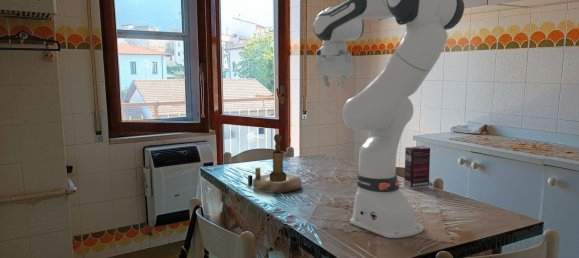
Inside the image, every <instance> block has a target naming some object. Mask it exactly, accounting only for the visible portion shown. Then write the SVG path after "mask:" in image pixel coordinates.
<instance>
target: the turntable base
mask: <svg viewBox="0 0 579 258" xmlns="http://www.w3.org/2000/svg"><path fill="white" fill-rule="evenodd" d="M253 179H254V178H253V175H252V174H248V175H247V185H248V186H250V187H252V186H253Z"/></svg>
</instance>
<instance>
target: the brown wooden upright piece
mask: <svg viewBox="0 0 579 258" xmlns="http://www.w3.org/2000/svg"><path fill="white" fill-rule="evenodd" d="M273 140H274V142H275V145H274V148H275V150H274V151H273V152H272V171H271V172H270V173H269V174H270V180H271V181H274V182H282V181H285V180H286V173H285V171H284V152H283V151H281V149H282V148H281V147H282V146H281V141H282V135H281V134H279V133H277V134H274V136H273Z"/></svg>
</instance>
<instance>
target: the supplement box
mask: <svg viewBox="0 0 579 258" xmlns="http://www.w3.org/2000/svg"><path fill="white" fill-rule="evenodd" d="M404 153H405V155H404V157H405V159H404V180H403V181H404V182H403V183H404V186H403V187H405V188H408V189H409V190H415V189H425V188H429V187H430V168H431V167H430V165H431V162H430V161H431V148H430V147H428V146H425V145H424V146H423V145H421V146H409V147H408V146H407V147H405V152H404Z"/></svg>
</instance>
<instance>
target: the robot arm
mask: <svg viewBox="0 0 579 258" xmlns="http://www.w3.org/2000/svg"><path fill="white" fill-rule="evenodd" d="M464 13H465V3H464V0H346V1H344V2H342V3H341V4H339V5H333V6H329V7H328V8H326V9H325V10H321V12H319V13H318V14H317V15H316V16H315V18H314V21H313V23H312V30H313V33H314V34H315V36H316V37H317V38H318V39H319V40H320V41H322V46H321V47H319V48H318V49H317V50H316V51H315V56H316V61H315V65H316V66H315V68H316V74H317V75H318V76H322V77H321V78H322V81H323V84H324V85H323V86H324V87H325V88H330V87H331V82H330V81H329V78H330V76H337V77H339V83H337V88H338V89H344V88H345V83H346V80H347V77H349V76H350V77H351V76H353V74H354V61H353V57H352V53H351V52H350V51H349V50H347V42H353V41H358V40H359V39H360V38H361V37H362V36H363V33H364V30H365V22H364V20H389V19H392V18H395V22H396V23H397V25H399V26H403V25H405V26H406V29H405V34H404V36H403V37H402V39H401V41H400V42H399V44H398V45H397V47H396V48H395V50H394V52H393V53H392V55H391V57H390V58H389V59H388V60H387V62H386V64H385V65H384V67H383V69H381V71H380V73H378V75H377V76H375V78H374V79H373V80H371V82H370V83H368V84H367V85H366V86H365V87H364V88H363V89H362V90H361V91H360V92H359V93H357V94H356V95H354V96H353V97H350V98H349V99H347V100H346V101H345V103H344V105H343V108H342V119H343V121H344V122H343V123H344V124H345V125H346V127H347V128H348V129H349V130H352V131H357V132H363V133H368V136H367V138H366V140H365V141H364V142H363V143H362V145H361V147H359V151H358V153H359V154H358V173H357V174H356V175H357V176H356V185H357V191H356V193H355V195H354V202H353V209H352V216H351V218H350V219H349V223H350V224H351V225H354V226H356V227H358V228H361V229H364V230H367V231H369V232H372V233H374V234H377V235H379V236H382V237H385V238H388V239H398V238H401V239H402V238H406V237H412V236H416V235H418V234H420V233H422V232H423V231H424V229H425V228H424V225H423V224H421V223H419V222H418V221H416V211H415V208H414V207H413V205H412V203H411V202H410V201H409V200H408V199H407V198H406V196H405V195H404V193H402V192H401V190H400V186H401V185H402V182H403V181H402V180H398V176H397V174H396V171H397V170H396V169H397V168H396V167H397V153H398V147H399V143H400V140H401V138H402V135H403V132H404V130H405V128H406V126H407V124H408V123H409V122H410V121H411V120H412V118H413V115H414V104H413V103H412V100H411V99H410V98H409V97H411V96H412V95H414V94H415V93H416V92H417V91H418V89H419V88H420V86H421V85H422V84H423V82H424V81H425V79H426V77H427V76H428V75H429V74H430V72H431V71H432V69H433V68H434V67H435V64H436V63H437V61H438V60H439V58H440V56H441V54H442V52H443V51H444V48H445V46H446V43H447V41H448V32H447V30H450V29H453V28H455V27H456V26H457V25H458V23H460V21H461V19H462V18H463V15H464Z"/></svg>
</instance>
